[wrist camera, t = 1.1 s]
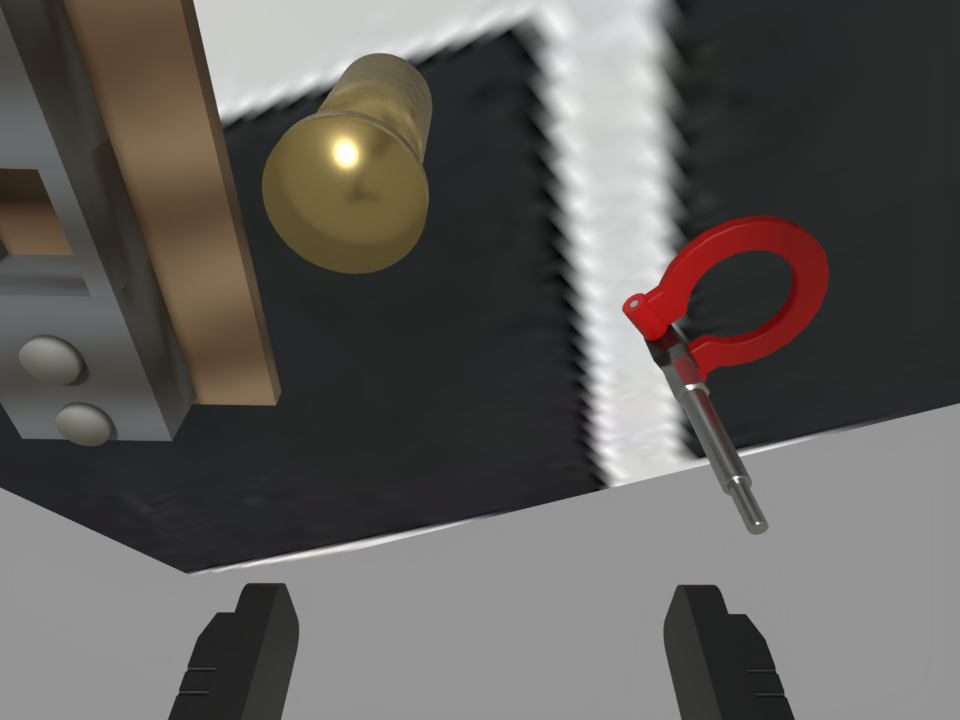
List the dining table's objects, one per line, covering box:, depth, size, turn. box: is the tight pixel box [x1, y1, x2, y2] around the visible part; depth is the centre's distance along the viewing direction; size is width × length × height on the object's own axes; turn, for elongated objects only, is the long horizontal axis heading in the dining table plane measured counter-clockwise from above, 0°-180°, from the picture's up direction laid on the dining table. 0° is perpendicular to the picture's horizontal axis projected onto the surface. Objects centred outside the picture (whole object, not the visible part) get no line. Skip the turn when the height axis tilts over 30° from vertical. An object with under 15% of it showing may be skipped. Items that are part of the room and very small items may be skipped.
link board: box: [0, 0, 282, 446], centre depth 26 cm, size 24×16×5 cm, turn 178°
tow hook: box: [622, 216, 829, 535], centre depth 27 cm, size 8×13×9 cm
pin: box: [262, 53, 432, 274], centre depth 22 cm, size 5×5×10 cm
